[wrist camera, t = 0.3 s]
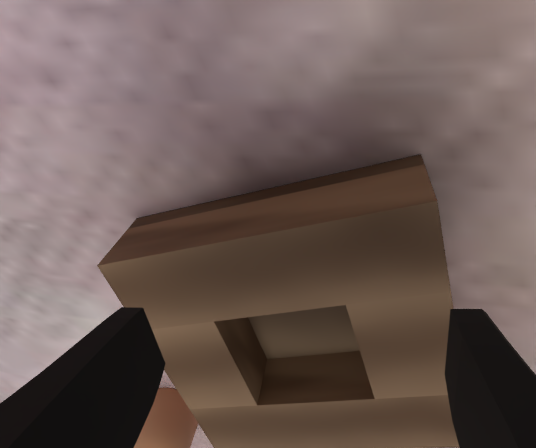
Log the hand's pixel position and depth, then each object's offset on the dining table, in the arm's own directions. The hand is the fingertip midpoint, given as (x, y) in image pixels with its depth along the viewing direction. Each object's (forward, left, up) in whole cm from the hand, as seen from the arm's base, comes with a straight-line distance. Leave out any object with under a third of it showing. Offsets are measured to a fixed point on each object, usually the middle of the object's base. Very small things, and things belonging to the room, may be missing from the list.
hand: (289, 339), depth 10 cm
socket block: (-7, +3, -10) cm, 13 cm away
